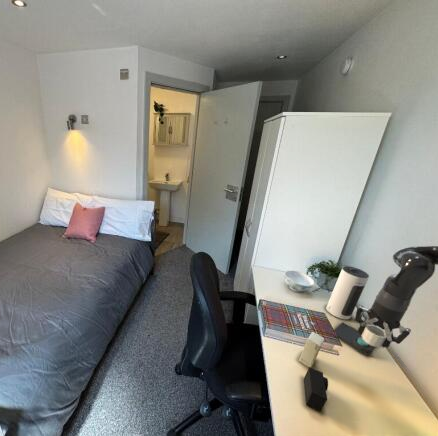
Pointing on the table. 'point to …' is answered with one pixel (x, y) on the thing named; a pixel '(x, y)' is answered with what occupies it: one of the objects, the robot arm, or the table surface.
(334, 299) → the speaker
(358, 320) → the robot arm
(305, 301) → the table surface
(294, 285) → the chinaware
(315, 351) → the cosmetic box
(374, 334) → the white tape roll
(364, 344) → the tare button
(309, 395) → the digital camera
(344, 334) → the scale
